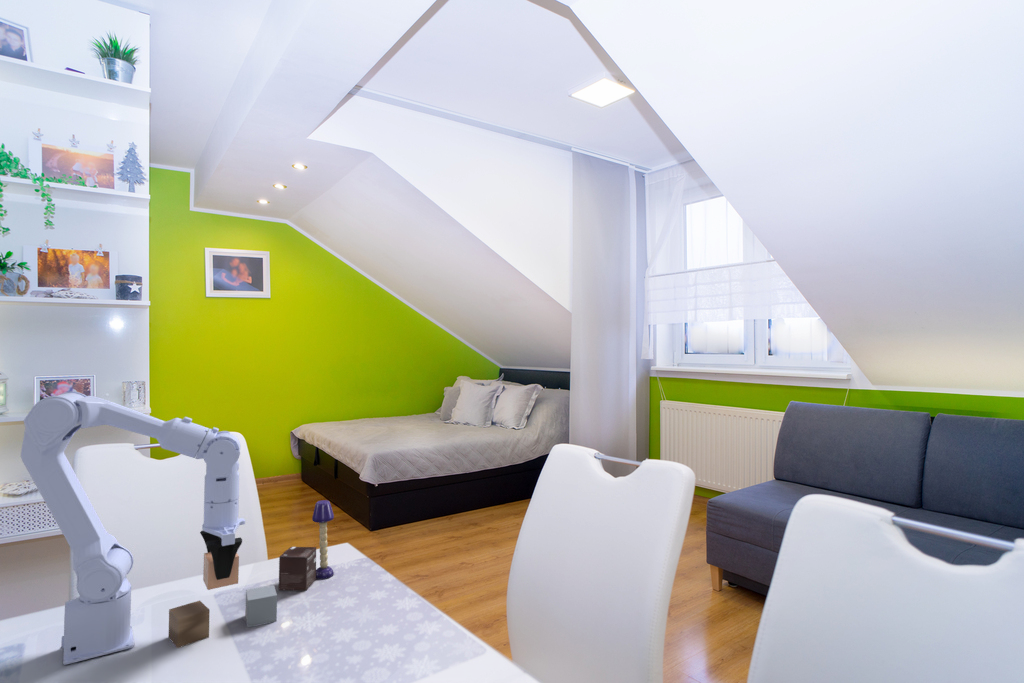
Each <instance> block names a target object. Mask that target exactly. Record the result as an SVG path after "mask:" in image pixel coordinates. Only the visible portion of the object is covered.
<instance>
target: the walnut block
mask: <svg viewBox="0 0 1024 683" xmlns="http://www.w3.org/2000/svg"><path fill="white" fill-rule="evenodd" d="M207 638H208V639H209V638H210V608H209V607H208V606H206V605H205V604H204V603H203V602H202V600H197V601H193V602H189V603H186V604H183V605H179V606H175V607H173V608H170V609H168V639H169V640H170V639H171V640H172V641H173V642H172V641H171V642H172V643H173V644H174V646H175V645H176V646H175V647H176V648H177V649H179V648H182V647H184V646H188V645H191V644H193V643H196V642H199V641H202V640H205V639H207ZM181 646H182V647H181Z"/></svg>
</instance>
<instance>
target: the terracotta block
mask: <svg viewBox="0 0 1024 683" xmlns="http://www.w3.org/2000/svg"><path fill="white" fill-rule="evenodd" d="M239 562H240V555H239V554H238V552H237V553H236V555H235V558H234V562H233V566H232V570H231V574H230V577H229V578H224V579H220V580H217V579H216V576H215V571H214V564H213V558H212V555H211V552H204V553H203V573H202V574H203V578H202V579H203V580H202V581H203V583H204V586H205V587H206V589H207V591H209V590H214V589H218V588H223V587H227V586H233V585H237V584H239V571H240V569H239V568H240V563H239Z"/></svg>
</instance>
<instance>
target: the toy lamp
mask: <svg viewBox="0 0 1024 683" xmlns="http://www.w3.org/2000/svg"><path fill="white" fill-rule="evenodd" d="M334 517H335V515H334V512H333V508H332V504H331V502H330V501H329V500H327V499H325V500H318V501H317V502H316V503H315V506H314V510H313V513H312V517H311V518H312V519H311V520H312V522H314V523H318V525H319V530H318V531H319V543H318V545H319V554H320V555H319V560H320V562H319V567H318V568H316V580H325V579H326V580H327V579H330V578H331V577H333V576H334V574H335V573H334V570H333V568H332V567H331V566H329V562H328V558H329V554H328V551H329V550H328V533H327V532H328V527H327V526H328V522H330V521H333V520H334V519H335V518H334Z"/></svg>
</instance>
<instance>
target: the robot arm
mask: <svg viewBox="0 0 1024 683" xmlns="http://www.w3.org/2000/svg"><path fill="white" fill-rule="evenodd" d="M192 421H193V418H191V417H188V416H184V417H183V418H179V417H175V418H172V419H170V420H167V421H166V420H162V419H159V418H157V417H155V416H152V415H150V414H147V413H144V412H142V411H138V410H135V409H133V408H131V407H127V406H125V405H122V404H119V403H117V402H114V401H111V400H108V399H105V398H102V397H98V396H94V395H86V394H84V393H83V392H82V393H81V392H78V391H65V392H63V393H60V394H58V395H53V396H52V395H51V396H47V397H44V398H43V399H40V400H38V401H37V402H36V403H35V404H34V406H32V408H31V410H30V411H29V412H28V414H27V415H26V416H25V417H24V419H23V423H24V424H23V426H24V434H23V439H22V445H21V451H20V458H21V462H22V463H23V465H24V467H25V468H26V470H27V472H28V474H29V475H30V477H31V479H32V481H33V482H34V484H35V487H36V488H37V490H38V491H39V493H40V495H41V497H42V499H43V501H44V503H45V505H46V506H47V508H48V510H49V511H50V513H51V515H52V517H53V518H54V520H55V522H56V524H57V526H58V528H59V529H60V532H61V533H62V535H63V536H64V538H65V541H66V542H67V544H68V545H69V547H70V549H71V551H72V570H73V571H74V572H75V574H76V585H75V586H76V590H77V594H78V595H79V596H78V597H75V598H73V599H69V600H65V601H64V616H63V617H64V620H63V621H64V622H63V623H64V624H63V635H62V636H61V645H60V646H61V647H60V648H61V649H63V658H62V659H63V660H62V661H63V662H62V663H63V664H62V665H64V666H66V665H69V664H74V663H78V662H81V661H85V660H89V659H94V658H98V657H101V656H104V655H108V654H113V653H117V652H120V651H125V650H128V649H132V648H133V647H135V641H134V634H133V627H132V626H131V618H132V616H131V615H132V614H131V613H132V612H131V610H132V606H131V605H132V584H131V583H130V581H129V580H128V578H127V575H128V574H129V573H130V572H131V570H132V568H133V566H134V556H133V554H132V552H131V551H130V550H129V549H128V548H127V547H124V546H123V545H122V544H120V542H119V541H118V540H117V538H116V536H114V535H113V534H111V533H109V532H108V531H107V530H106V527H105V526H104V525H103V522H102V521H101V518H100V517H99V515H98V514H97V511H96V509H95V507H94V505H93V504H92V502H91V500H90V498H89V497H88V495H87V492H86V490H85V489H84V488H83V486H82V483H81V481H80V480H79V478H78V476H77V475H76V472H75V471H74V469H73V467H72V465H71V463H70V462H69V460H68V458H67V455H66V454H65V451H66V449H67V448H68V445H69V443H71V440H72V438H73V437H74V435H75V434H76V432H78V430H80V429H87V428H93V427H99V426H109V427H110V426H111V427H113V428H117V429H121V430H124V431H129V432H132V433H135V434H138V435H143V436H147V437H150V438H154V439H155V440H157V442H158V444H159V446H160V448H161V449H163V450H167V451H171V452H174V453H177V454H180V455H183V456H186V457H189V458H192V459H196V460H203V461H204V463H205V466H206V469H205V474H204V484H203V485H204V489H203V490H204V493H203V495H204V496H203V523H202V525H201V526H202V528H201V531H200V532H199V534H200V536H201V537H202V538H203V541H204V544H205V547H206V551H207V552H206V553H208V552H211V555H212V558H213V564H214V571H215V576H216V579H217V580H220V579H224V578H229V577H230V574H231V570H232V566H233V562H234V558H235V555H236V553H237V554H238V551H239V549H240V547H241V546H242V544H243V538H242V537H236V532H237V531H238V529H239V527H240V526H242V525H246V519H245V518H243V517H240V518H239V511H240V510H239V508H240V505H239V501H240V500H239V498H240V472H239V469H240V462H239V459H240V457H241V456H240V455H241V442H240V440H239V438H238V436H236V435H235V434H233V433H231V432H230V431H228V430H222V431H219V430H220V429H219V428H218V427H215V426H213V428H209V427H205V426H203V425H201V424H198V423H194V422H192Z"/></svg>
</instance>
